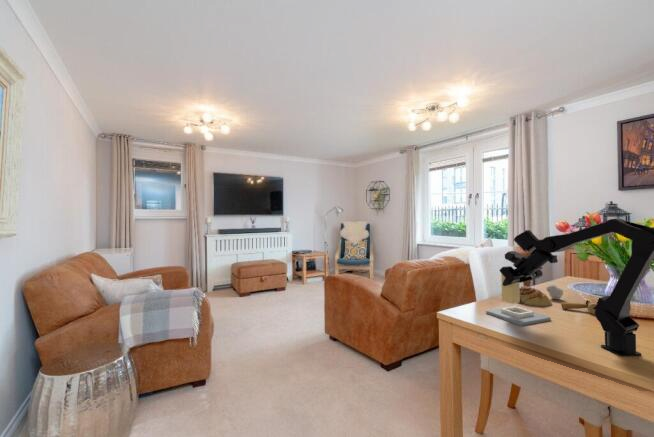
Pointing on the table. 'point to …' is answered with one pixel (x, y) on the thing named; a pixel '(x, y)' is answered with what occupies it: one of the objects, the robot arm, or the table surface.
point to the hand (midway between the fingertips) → (507, 284)
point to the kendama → (580, 306)
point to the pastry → (533, 297)
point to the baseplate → (518, 315)
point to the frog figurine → (554, 292)
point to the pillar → (510, 292)
